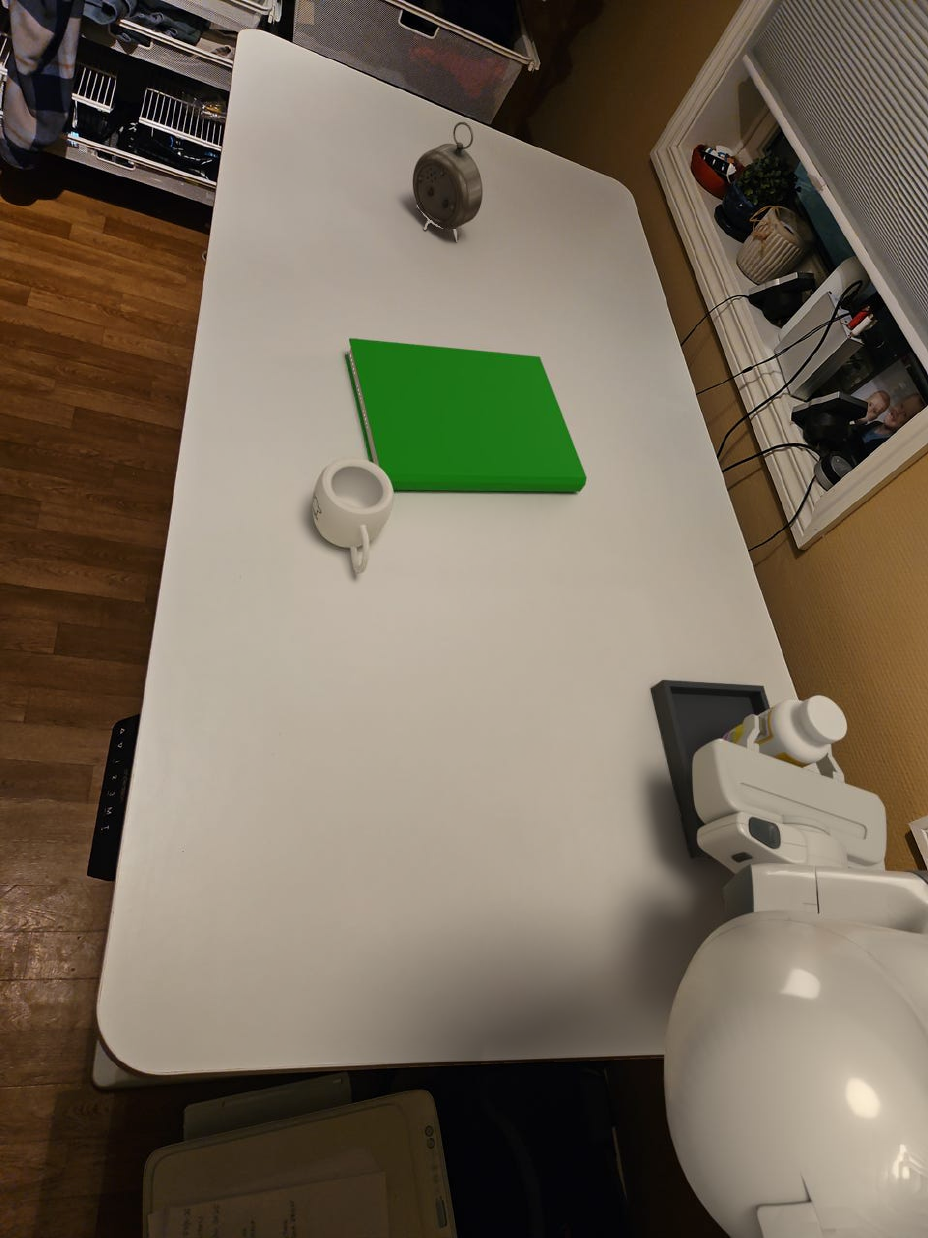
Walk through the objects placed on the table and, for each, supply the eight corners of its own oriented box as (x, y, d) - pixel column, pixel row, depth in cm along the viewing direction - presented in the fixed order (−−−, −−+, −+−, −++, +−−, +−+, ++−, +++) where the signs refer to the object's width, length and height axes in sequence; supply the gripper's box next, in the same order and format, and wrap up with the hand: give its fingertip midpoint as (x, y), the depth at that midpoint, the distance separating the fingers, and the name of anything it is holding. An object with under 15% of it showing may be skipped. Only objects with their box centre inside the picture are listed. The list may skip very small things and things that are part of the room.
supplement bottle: (777, 776, 81) (868, 738, 70) (738, 797, 78) (827, 760, 67) (744, 723, 83) (828, 678, 72) (705, 741, 80) (787, 697, 69)
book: (345, 355, 95) (349, 337, 93) (531, 372, 106) (539, 356, 104) (377, 493, 86) (383, 477, 83) (577, 494, 97) (587, 480, 95)
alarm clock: (467, 243, 117) (505, 142, 103) (447, 253, 114) (483, 150, 100) (418, 202, 118) (449, 96, 104) (397, 210, 115) (426, 102, 101)
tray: (797, 854, 81) (814, 849, 79) (689, 858, 76) (704, 854, 74) (749, 693, 90) (763, 685, 88) (650, 688, 86) (662, 679, 83)
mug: (300, 496, 82) (311, 451, 76) (372, 496, 85) (388, 452, 79) (318, 587, 77) (331, 547, 71) (393, 583, 81) (412, 544, 74)
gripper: (913, 887, 66) (893, 750, 74) (723, 823, 63) (722, 686, 70) (860, 897, 72) (846, 769, 79) (681, 839, 68) (684, 710, 76)
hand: (786, 729), depth 75 cm, fingers closed on supplement bottle, 6 cm apart
